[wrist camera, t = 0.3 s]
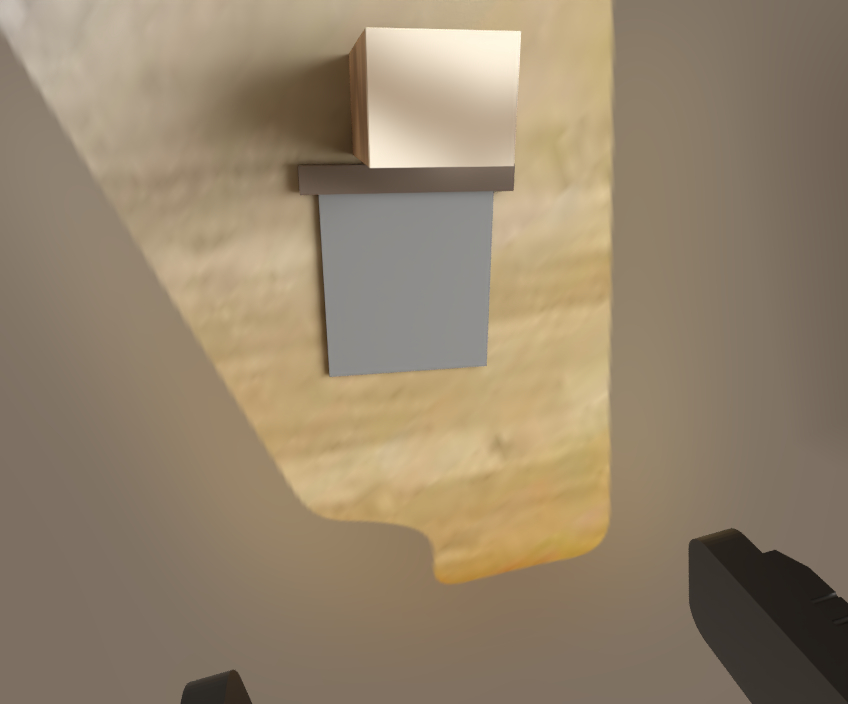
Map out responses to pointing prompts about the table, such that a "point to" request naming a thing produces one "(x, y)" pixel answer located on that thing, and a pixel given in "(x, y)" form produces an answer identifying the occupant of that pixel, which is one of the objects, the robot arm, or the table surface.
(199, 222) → the table surface
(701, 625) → the robot arm
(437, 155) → the walnut block
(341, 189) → the stop strip
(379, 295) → the slate-grey rubber mat
